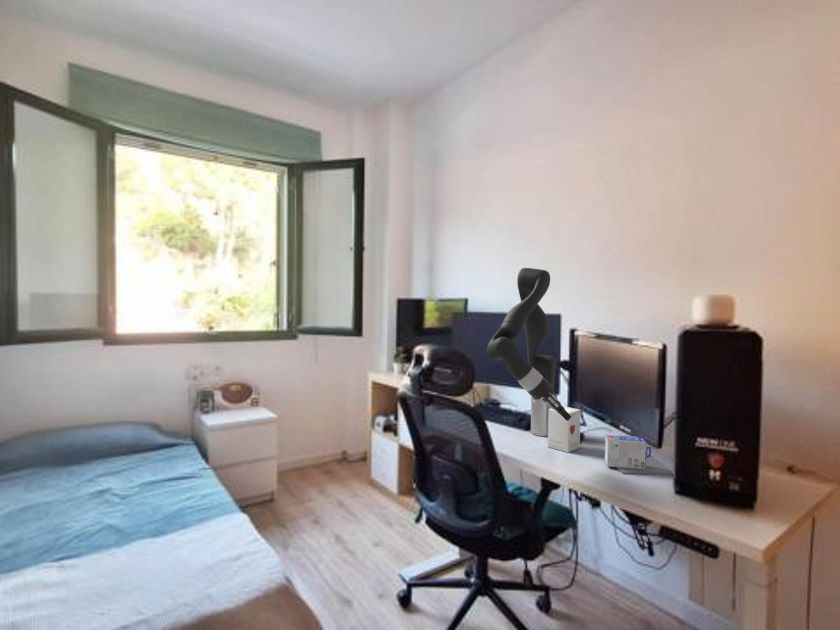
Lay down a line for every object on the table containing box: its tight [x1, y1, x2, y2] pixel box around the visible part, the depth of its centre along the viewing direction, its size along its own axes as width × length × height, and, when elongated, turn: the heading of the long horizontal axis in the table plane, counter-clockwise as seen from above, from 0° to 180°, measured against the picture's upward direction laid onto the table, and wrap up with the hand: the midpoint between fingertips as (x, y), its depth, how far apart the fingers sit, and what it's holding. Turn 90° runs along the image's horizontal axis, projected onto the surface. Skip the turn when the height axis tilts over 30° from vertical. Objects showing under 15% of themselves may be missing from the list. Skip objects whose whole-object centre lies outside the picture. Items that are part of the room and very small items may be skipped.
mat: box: [603, 454, 674, 475], centre depth 157 cm, size 16×17×1 cm
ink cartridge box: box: [604, 434, 652, 470], centre depth 154 cm, size 10×6×14 cm
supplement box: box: [547, 405, 582, 453], centre depth 175 cm, size 9×9×15 cm
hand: (568, 418), depth 157 cm, fingers closed
